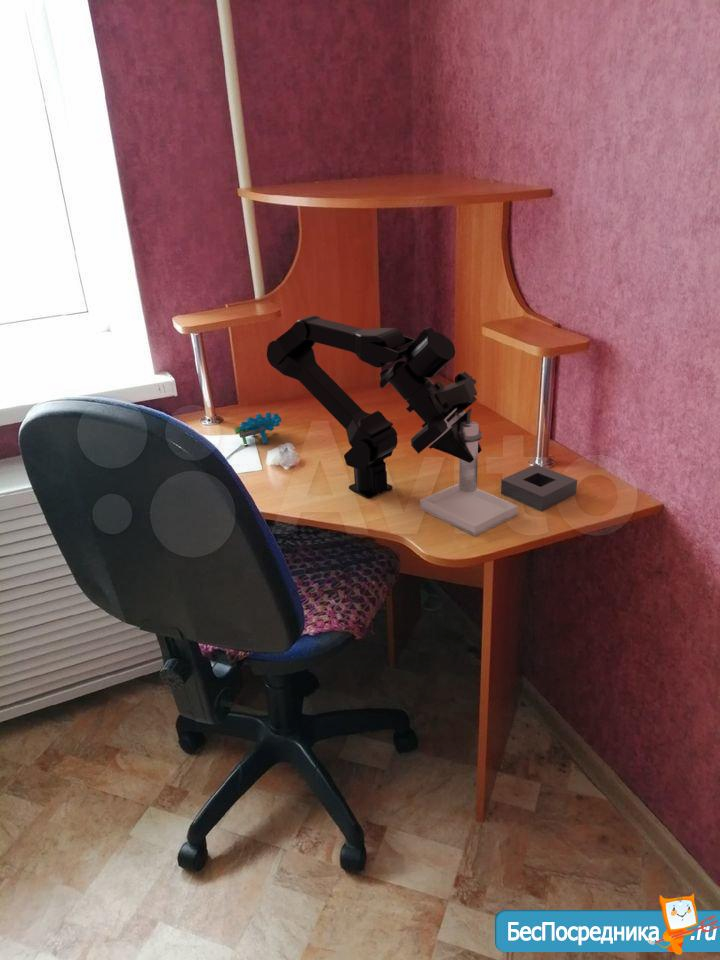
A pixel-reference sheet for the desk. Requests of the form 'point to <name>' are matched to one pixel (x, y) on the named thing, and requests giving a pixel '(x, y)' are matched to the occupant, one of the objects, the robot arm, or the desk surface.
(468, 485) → the steel pin
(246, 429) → the blue spiky toy
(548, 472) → the hitch block
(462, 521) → the tray
